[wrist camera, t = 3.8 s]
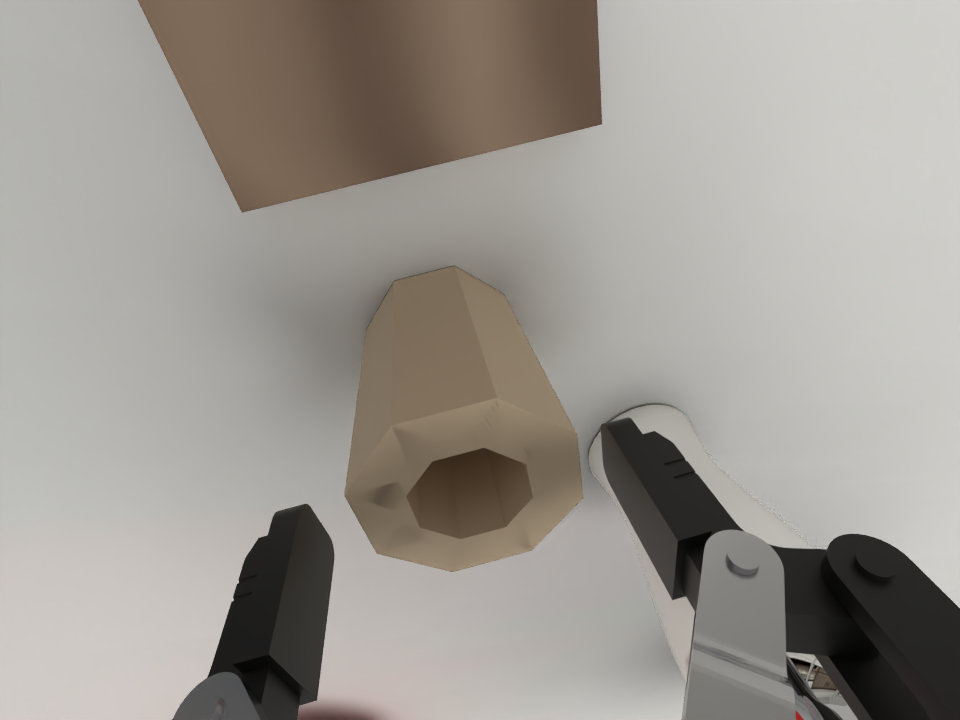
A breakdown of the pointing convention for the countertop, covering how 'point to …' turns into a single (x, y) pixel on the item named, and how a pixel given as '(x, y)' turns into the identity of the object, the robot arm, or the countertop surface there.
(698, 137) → the countertop surface
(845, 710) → the beer glass
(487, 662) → the countertop surface
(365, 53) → the holder
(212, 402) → the countertop surface
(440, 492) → the tan faceted vase
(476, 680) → the countertop surface
